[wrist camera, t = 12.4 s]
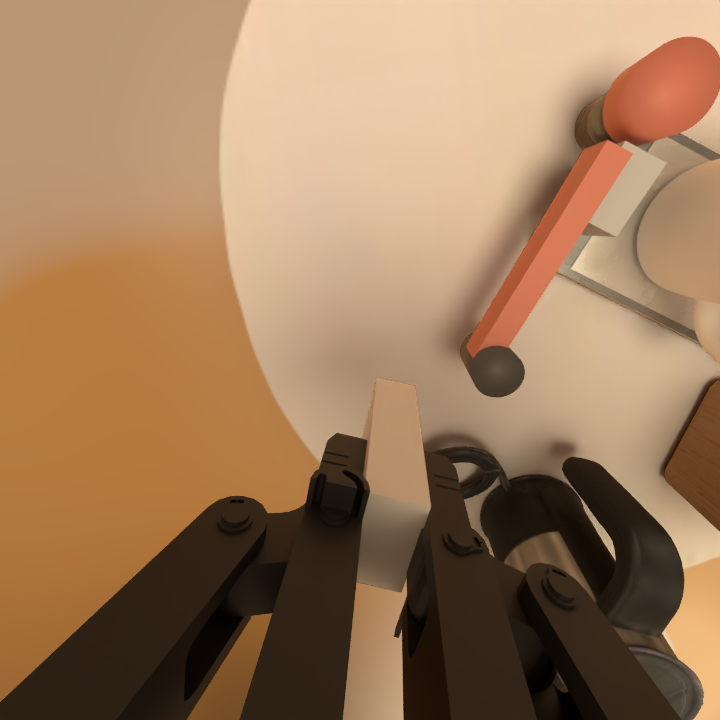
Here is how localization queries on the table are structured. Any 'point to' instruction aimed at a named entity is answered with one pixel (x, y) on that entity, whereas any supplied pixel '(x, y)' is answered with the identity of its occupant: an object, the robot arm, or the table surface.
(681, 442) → the wooden block
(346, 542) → the robot arm
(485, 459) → the milk frother
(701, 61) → the lever
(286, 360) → the table surface
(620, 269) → the metal tray
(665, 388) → the table surface
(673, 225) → the mug
